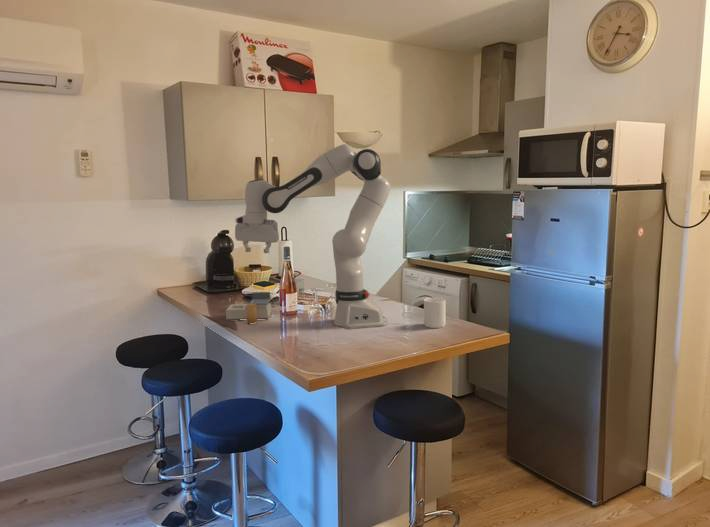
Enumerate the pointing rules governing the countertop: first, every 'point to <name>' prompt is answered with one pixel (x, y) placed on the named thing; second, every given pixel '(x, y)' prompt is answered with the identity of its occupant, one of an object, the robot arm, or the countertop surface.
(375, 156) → the robot arm
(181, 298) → the countertop surface
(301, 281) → the ink box
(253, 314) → the tan upright cylinder
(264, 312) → the housing
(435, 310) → the mug
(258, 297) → the cover
